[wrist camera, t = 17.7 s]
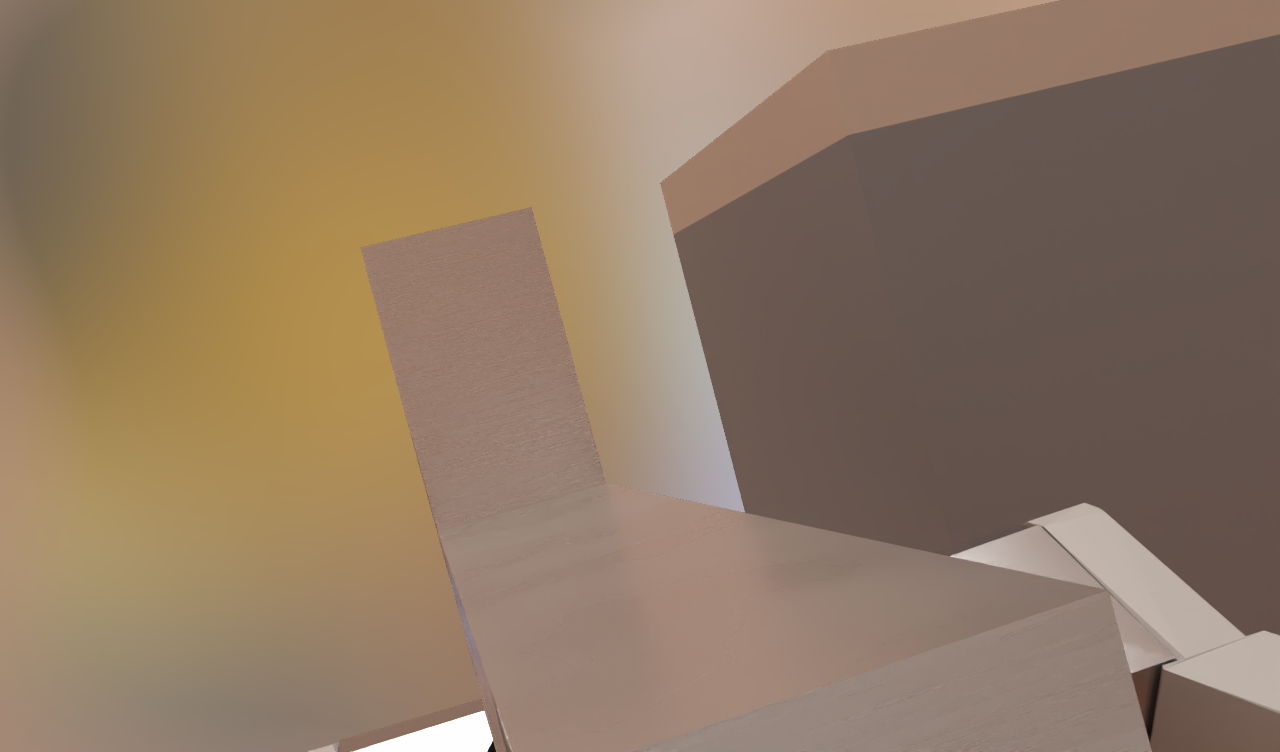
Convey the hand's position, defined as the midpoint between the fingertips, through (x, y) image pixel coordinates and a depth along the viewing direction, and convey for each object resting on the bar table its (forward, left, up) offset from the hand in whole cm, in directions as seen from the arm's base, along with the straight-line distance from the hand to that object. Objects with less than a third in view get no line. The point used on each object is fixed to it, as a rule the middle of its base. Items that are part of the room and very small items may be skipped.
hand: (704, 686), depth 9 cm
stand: (-12, -17, -19) cm, 29 cm away
